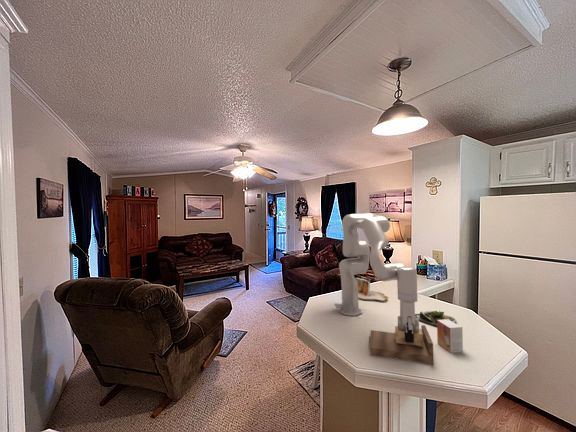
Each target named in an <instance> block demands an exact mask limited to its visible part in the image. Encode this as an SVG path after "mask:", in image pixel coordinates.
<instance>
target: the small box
mask: <svg viewBox="0 0 576 432" xmlns="http://www.w3.org/2000/svg"><path fill="white" fill-rule="evenodd" d="M436 330H437V331H436V333H437V334H436V335H437V336H436V337H437V340H436V341H437V344H439V346H441V347H442V348H444V350H446V351H447V352H449V353H450V354H455V353H457V354H458V353H463V352H464V349H463V347H464V346H463V345H464V344H463V343H464V342H463V341H464V340H463V336H464V335H463V327H462V325H459V324H457V323H456V322H455V323H454V322H452V321H450V320H449V319H446V320H445V319H444V320H437V327H436Z"/></svg>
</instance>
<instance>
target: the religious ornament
mask: <svg viewBox="0 0 576 432" xmlns="http://www.w3.org/2000/svg"><path fill="white" fill-rule="evenodd" d="M355 278H356V280H357V282H358V300H363V301H371V302H373V301H374V302H375V301H376V302H377V301H378V302H379V301H381V302H383V301H386V300H387V299H389V296H386V295H385V294H384V293H382V292H379V291H376V290H370V289H371V282H370V281H368V280H366V279H364V278H360V277H355Z"/></svg>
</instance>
